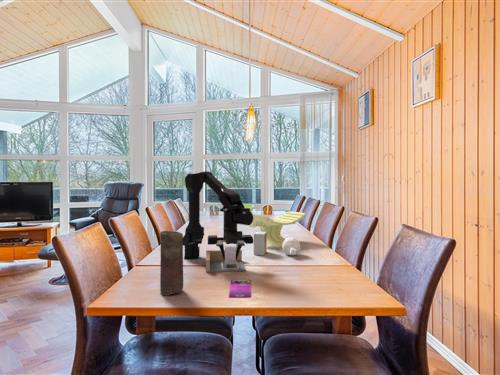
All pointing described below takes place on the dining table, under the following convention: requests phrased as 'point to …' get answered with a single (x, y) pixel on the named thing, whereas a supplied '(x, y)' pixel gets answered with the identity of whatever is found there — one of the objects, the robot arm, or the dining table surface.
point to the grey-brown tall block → (171, 262)
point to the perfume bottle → (291, 246)
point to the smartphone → (240, 289)
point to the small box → (260, 243)
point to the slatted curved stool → (276, 226)
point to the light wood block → (230, 255)
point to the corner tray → (222, 262)
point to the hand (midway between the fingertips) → (230, 259)
